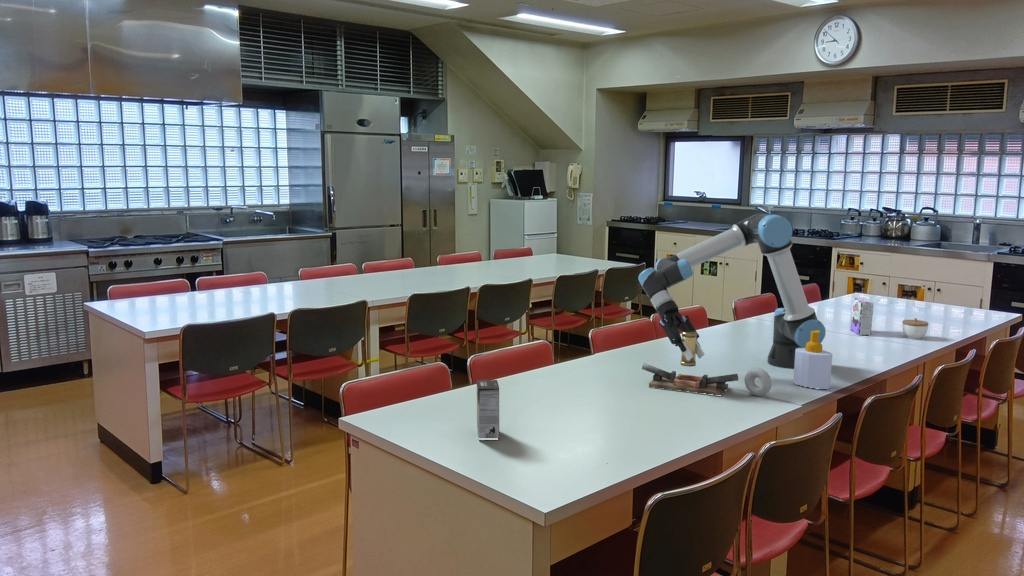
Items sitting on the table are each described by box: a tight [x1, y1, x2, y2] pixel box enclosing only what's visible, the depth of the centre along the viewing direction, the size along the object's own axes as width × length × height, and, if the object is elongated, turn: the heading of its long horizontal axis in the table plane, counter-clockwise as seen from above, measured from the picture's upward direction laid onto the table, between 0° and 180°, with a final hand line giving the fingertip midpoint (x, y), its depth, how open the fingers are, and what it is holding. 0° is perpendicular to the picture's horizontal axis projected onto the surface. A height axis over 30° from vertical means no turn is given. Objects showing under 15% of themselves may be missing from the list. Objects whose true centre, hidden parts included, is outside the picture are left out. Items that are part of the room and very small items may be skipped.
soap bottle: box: [793, 330, 833, 390], centre depth 273 cm, size 13×8×20 cm, turn 47°
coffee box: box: [476, 379, 500, 439], centre depth 223 cm, size 9×6×16 cm
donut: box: [744, 367, 773, 397], centre depth 262 cm, size 10×4×10 cm, turn 41°
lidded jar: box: [901, 317, 929, 340], centre depth 351 cm, size 11×11×9 cm
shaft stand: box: [641, 362, 739, 397], centre depth 272 cm, size 35×12×7 cm, turn 63°
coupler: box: [680, 331, 698, 367], centre depth 270 cm, size 5×5×12 cm
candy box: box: [849, 297, 875, 337], centre depth 362 cm, size 14×6×16 cm, turn 172°
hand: (696, 357), depth 267 cm, fingers closed on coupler, 5 cm apart
